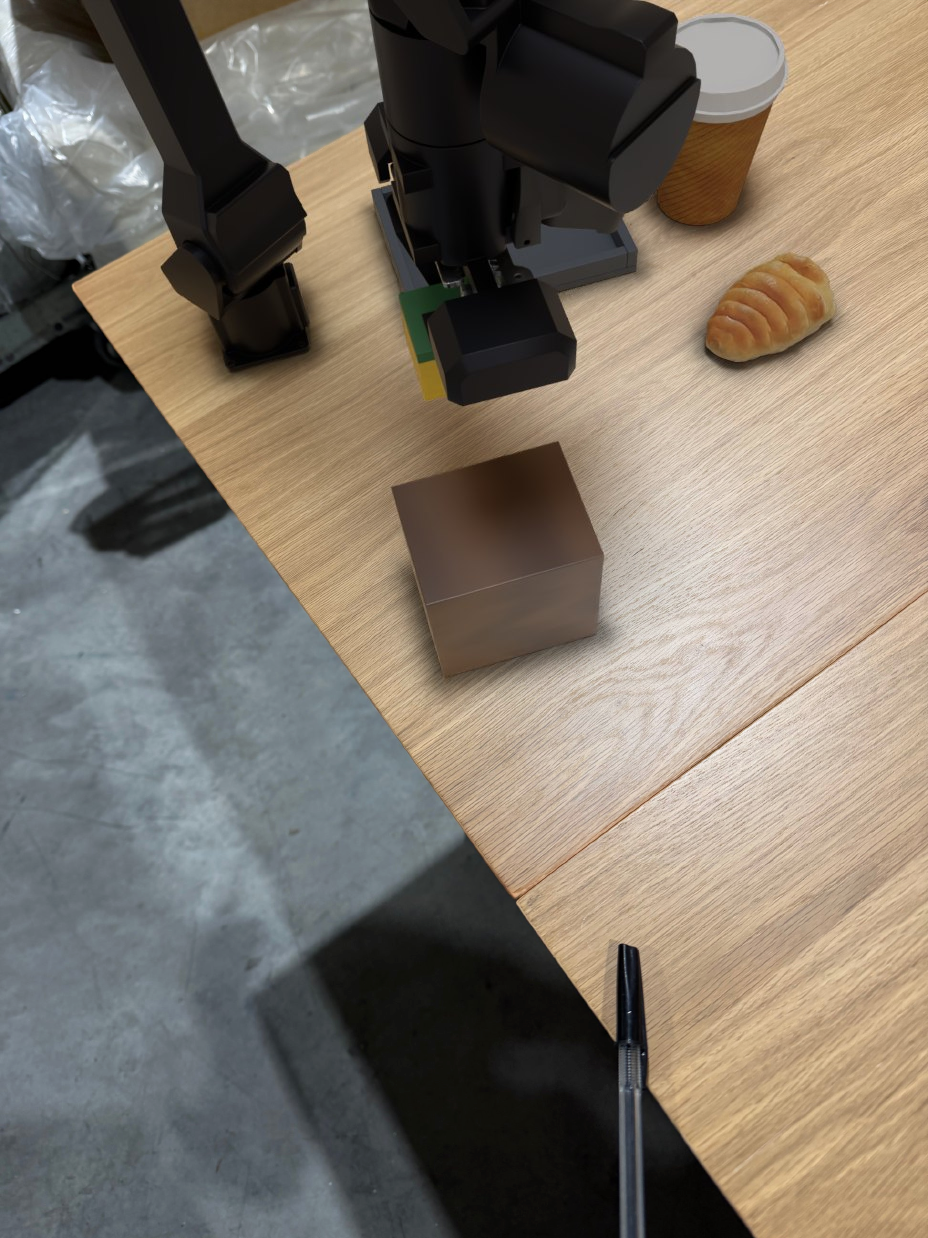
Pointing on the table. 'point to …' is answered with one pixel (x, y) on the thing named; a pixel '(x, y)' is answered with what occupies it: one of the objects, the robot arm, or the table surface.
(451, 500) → the cube
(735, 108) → the disposable coffee cup
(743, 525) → the table surface
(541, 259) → the tray
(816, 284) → the pastry
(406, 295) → the sponge
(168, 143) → the robot arm
